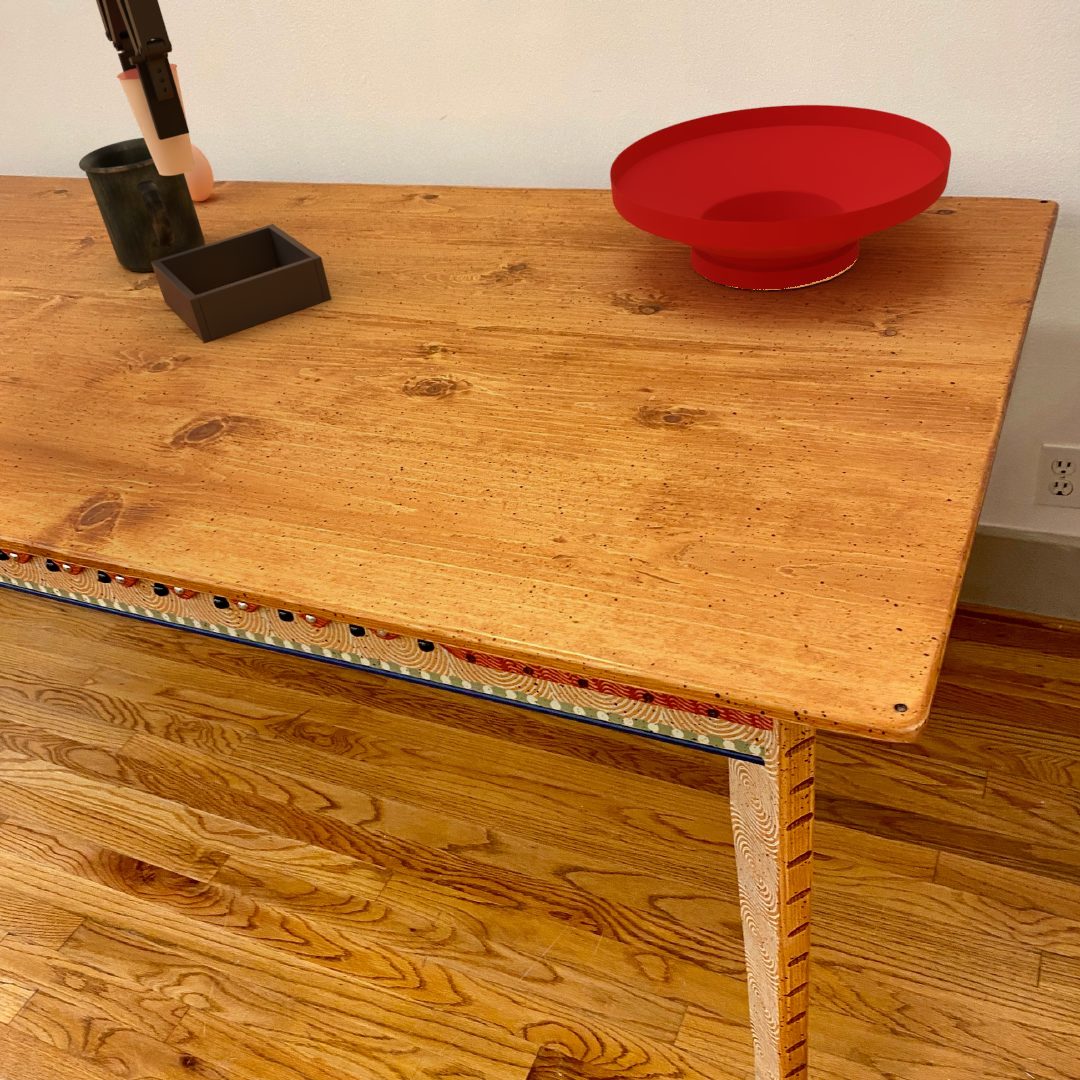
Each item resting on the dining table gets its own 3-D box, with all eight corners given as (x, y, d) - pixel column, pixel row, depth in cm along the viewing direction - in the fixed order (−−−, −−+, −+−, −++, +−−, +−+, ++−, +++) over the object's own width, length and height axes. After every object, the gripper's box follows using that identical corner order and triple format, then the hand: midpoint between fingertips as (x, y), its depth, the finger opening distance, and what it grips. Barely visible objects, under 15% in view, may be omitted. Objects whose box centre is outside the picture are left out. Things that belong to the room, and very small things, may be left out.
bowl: (680, 195, 122) (677, 103, 116) (965, 208, 110) (977, 105, 104) (567, 311, 101) (555, 206, 95) (903, 344, 89) (913, 225, 83)
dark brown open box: (204, 343, 105) (189, 300, 103) (164, 301, 115) (150, 261, 112) (331, 298, 110) (321, 256, 108) (283, 263, 120) (272, 223, 118)
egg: (177, 207, 141) (158, 149, 136) (195, 194, 144) (178, 137, 140) (208, 206, 140) (190, 148, 135) (226, 193, 143) (209, 136, 139)
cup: (165, 183, 100) (121, 43, 93) (138, 174, 104) (94, 39, 97) (215, 165, 103) (177, 29, 96) (188, 157, 106) (149, 25, 99)
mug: (197, 230, 132) (166, 129, 125) (228, 265, 122) (196, 157, 115) (108, 255, 129) (70, 153, 122) (132, 293, 118) (92, 184, 111)
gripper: (151, -175, 82) (235, 138, 96) (94, -171, 96) (175, 104, 109) (51, -161, 80) (152, 159, 93) (7, -158, 93) (100, 122, 106)
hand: (164, 129), depth 101 cm, fingers closed on cup, 5 cm apart
